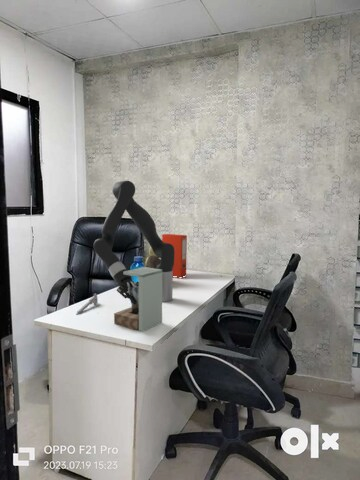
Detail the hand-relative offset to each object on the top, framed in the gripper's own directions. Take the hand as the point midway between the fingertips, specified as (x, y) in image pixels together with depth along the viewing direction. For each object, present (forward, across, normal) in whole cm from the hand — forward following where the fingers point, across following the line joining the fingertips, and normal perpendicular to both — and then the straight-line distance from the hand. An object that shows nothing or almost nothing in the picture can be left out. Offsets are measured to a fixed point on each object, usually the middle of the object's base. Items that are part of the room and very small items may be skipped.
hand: (138, 302), depth 156 cm
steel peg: (+2, 0, +5) cm, 5 cm away
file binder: (-26, +94, +40) cm, 105 cm away
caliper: (-19, +1, +34) cm, 38 cm away
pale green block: (+9, 0, +5) cm, 10 cm away
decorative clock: (-24, +66, +39) cm, 80 cm away
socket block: (+6, 0, +8) cm, 10 cm away
